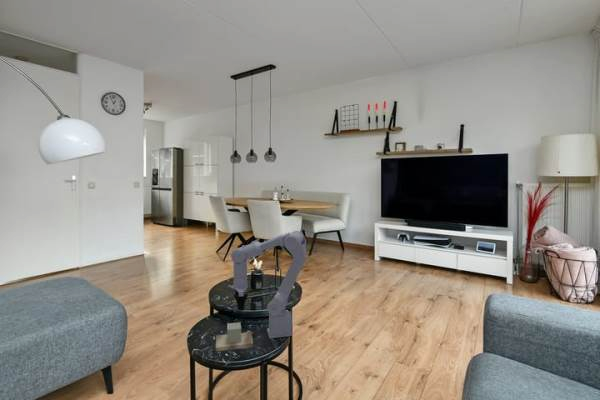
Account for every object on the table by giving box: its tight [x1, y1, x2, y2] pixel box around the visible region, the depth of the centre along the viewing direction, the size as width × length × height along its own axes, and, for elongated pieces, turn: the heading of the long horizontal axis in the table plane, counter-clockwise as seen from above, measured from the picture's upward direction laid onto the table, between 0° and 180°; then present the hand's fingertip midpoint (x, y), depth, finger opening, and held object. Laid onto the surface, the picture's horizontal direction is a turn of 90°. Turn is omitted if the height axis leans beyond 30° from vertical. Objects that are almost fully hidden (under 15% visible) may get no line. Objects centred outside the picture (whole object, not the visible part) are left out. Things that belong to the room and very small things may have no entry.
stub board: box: [215, 331, 254, 352], centre depth 122 cm, size 14×9×4 cm, turn 104°
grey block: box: [226, 321, 242, 344], centre depth 122 cm, size 5×5×6 cm
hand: (240, 306), depth 134 cm, fingers open, 7 cm apart
